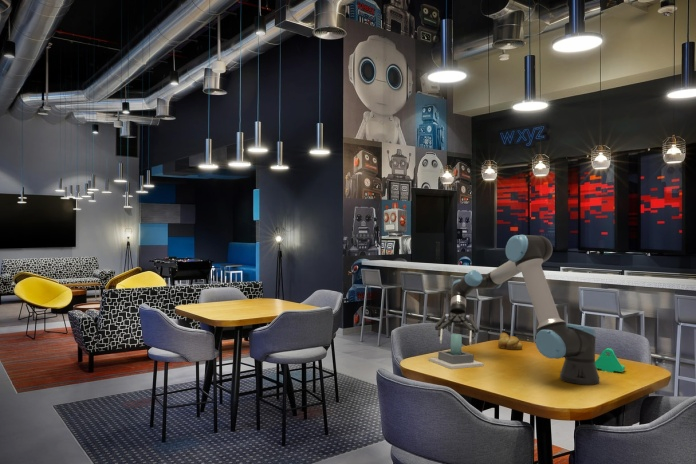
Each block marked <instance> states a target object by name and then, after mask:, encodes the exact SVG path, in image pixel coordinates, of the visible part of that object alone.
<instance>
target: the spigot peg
mask: <svg viewBox="0 0 696 464" xmlns="http://www.w3.org/2000/svg"><path fill="white" fill-rule="evenodd" d="M462 336H463V335H462V334H458V333H452V334H450V351H451V355H461V351H462V341H463V339H462Z"/></svg>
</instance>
